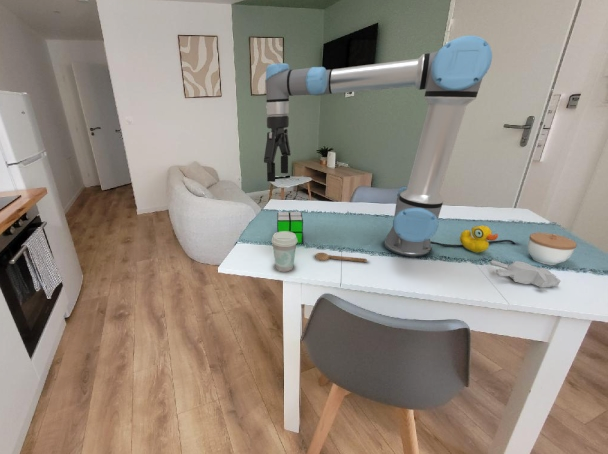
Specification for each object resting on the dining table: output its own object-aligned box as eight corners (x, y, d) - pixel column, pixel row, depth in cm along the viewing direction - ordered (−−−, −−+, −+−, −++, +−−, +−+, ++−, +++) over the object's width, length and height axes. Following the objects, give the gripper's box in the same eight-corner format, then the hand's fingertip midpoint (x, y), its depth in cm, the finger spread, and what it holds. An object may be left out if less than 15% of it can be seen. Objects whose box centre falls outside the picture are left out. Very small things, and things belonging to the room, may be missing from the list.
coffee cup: (266, 268, 99) (266, 236, 95) (281, 258, 105) (281, 228, 100) (287, 276, 94) (287, 243, 89) (301, 266, 100) (302, 234, 95)
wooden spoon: (366, 259, 102) (366, 256, 102) (367, 265, 98) (367, 262, 98) (316, 254, 107) (316, 251, 107) (315, 260, 103) (315, 257, 103)
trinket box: (558, 255, 98) (569, 230, 95) (574, 271, 89) (587, 244, 86) (517, 250, 103) (526, 226, 99) (529, 265, 94) (539, 239, 90)
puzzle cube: (300, 233, 125) (301, 211, 121) (302, 243, 116) (303, 220, 112) (277, 233, 126) (277, 211, 122) (277, 243, 117) (277, 220, 113)
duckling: (496, 257, 99) (505, 230, 95) (484, 259, 98) (493, 232, 94) (464, 243, 109) (471, 218, 106) (453, 245, 108) (460, 221, 104)
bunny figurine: (569, 281, 78) (503, 267, 83) (559, 296, 80) (495, 282, 85) (551, 264, 86) (491, 252, 91) (542, 278, 88) (484, 266, 93)
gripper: (280, 114, 111) (280, 169, 119) (252, 118, 90) (254, 184, 99) (299, 113, 108) (298, 170, 116) (274, 117, 87) (275, 186, 95)
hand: (278, 177), depth 107 cm, fingers open, 13 cm apart
